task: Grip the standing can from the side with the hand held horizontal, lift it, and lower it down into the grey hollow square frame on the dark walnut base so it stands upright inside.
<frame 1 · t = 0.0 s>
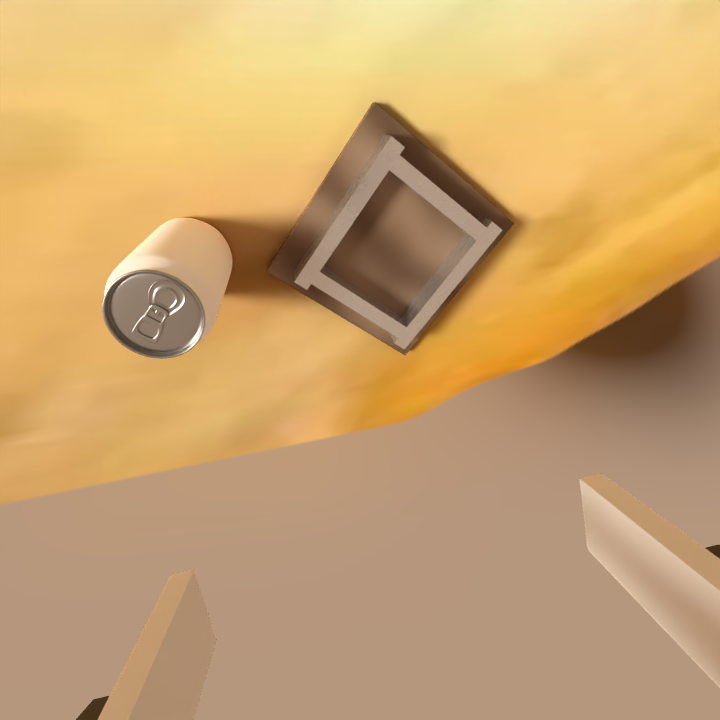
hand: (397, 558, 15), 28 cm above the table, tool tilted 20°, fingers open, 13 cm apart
collar base: (389, 244, 38), on the table
grey hollow square frame: (395, 251, 36), on the collar base, point 2 cm above the table
can: (192, 256, 36), on the table
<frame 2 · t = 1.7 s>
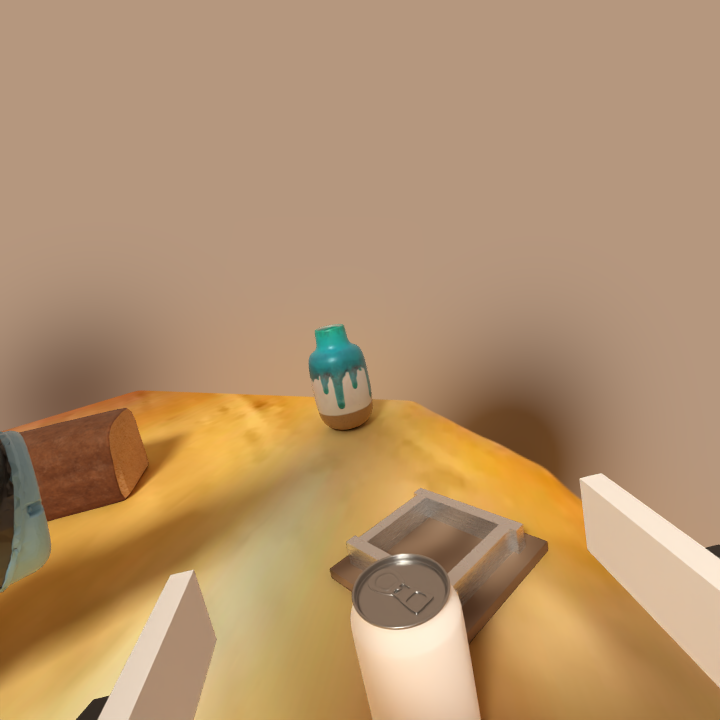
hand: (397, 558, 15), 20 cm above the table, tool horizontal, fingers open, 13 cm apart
collar base: (437, 564, 43), on the table
bread: (21, 514, 74), on the table
grey hollow square frame: (433, 544, 43), on the collar base, point 2 cm above the table
vase: (350, 426, 84), on the table
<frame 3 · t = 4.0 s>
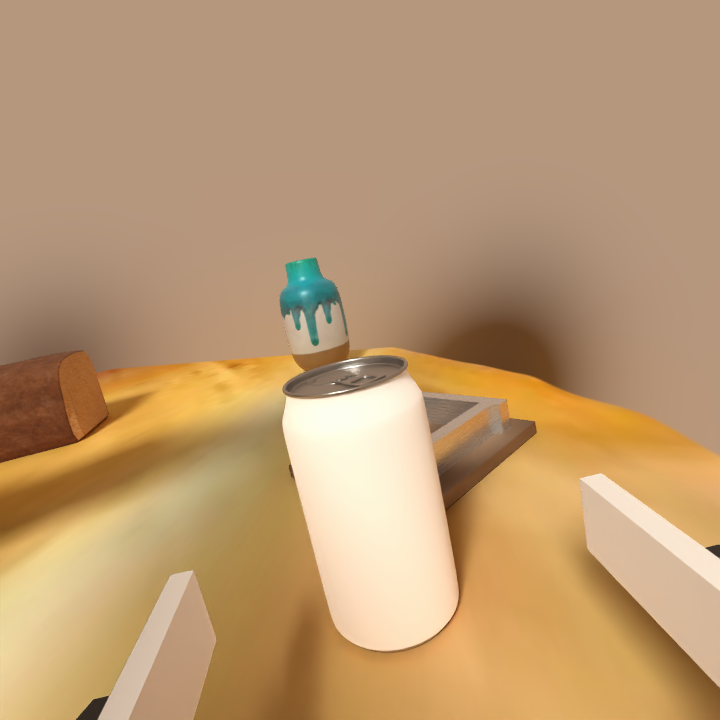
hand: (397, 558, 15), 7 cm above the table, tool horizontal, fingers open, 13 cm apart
collar base: (411, 454, 38), on the table
grey hollow square frame: (406, 430, 37), on the collar base, point 2 cm above the table
vase: (326, 370, 78), on the table
can: (396, 605, 22), on the table
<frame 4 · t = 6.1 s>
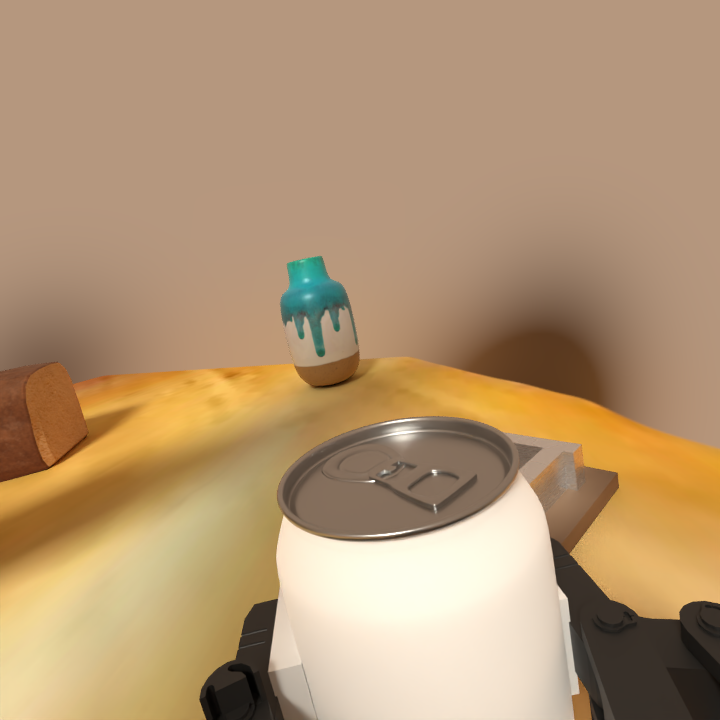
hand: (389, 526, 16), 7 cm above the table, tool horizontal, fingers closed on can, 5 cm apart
collar base: (450, 514, 29), on the table
grey hollow square frame: (444, 483, 28), on the collar base, point 2 cm above the table
vase: (332, 384, 69), on the table
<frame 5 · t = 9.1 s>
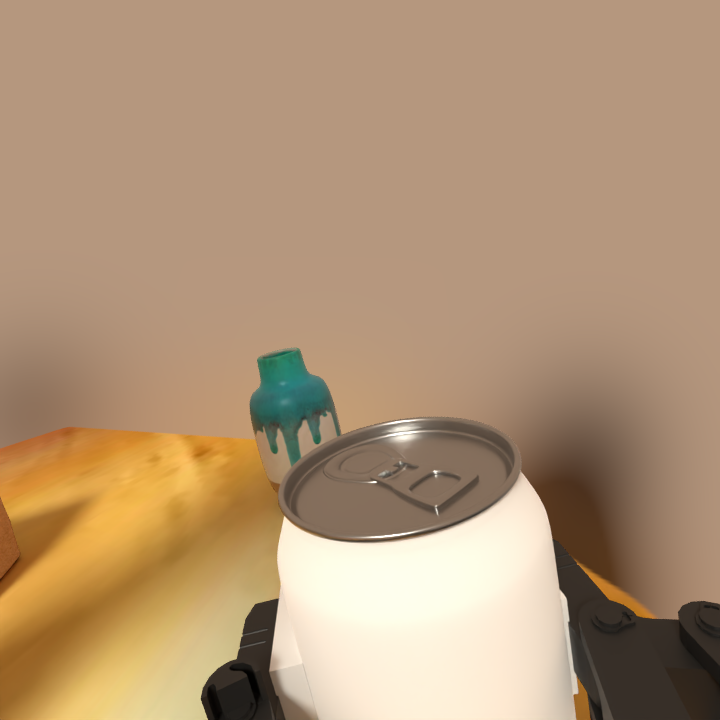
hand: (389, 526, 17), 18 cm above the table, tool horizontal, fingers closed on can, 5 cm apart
vase: (314, 494, 58), on the table
when the fingers open (9 cm above the table, at t = 11.7 s): can drops 1 cm, resting on collar base.
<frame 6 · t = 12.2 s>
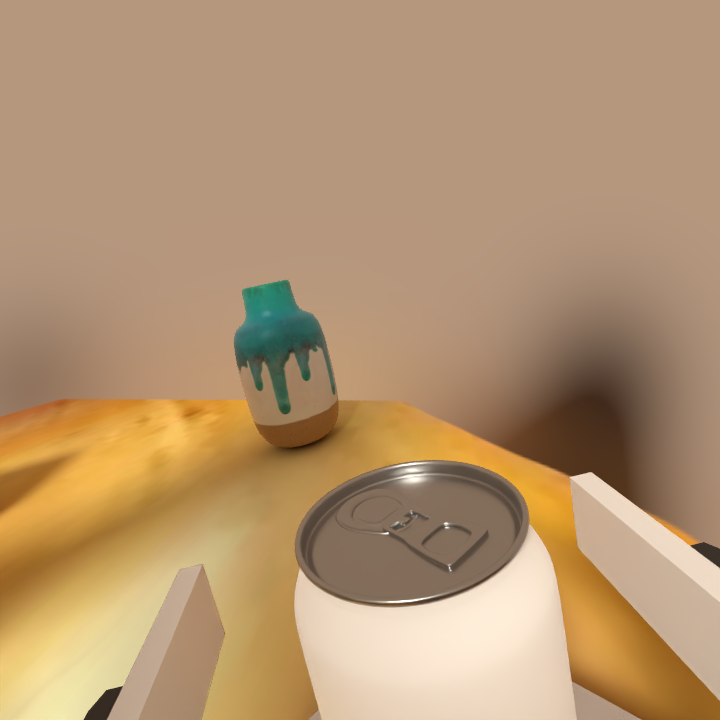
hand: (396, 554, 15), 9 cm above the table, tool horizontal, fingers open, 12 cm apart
vase: (304, 442, 54), on the table
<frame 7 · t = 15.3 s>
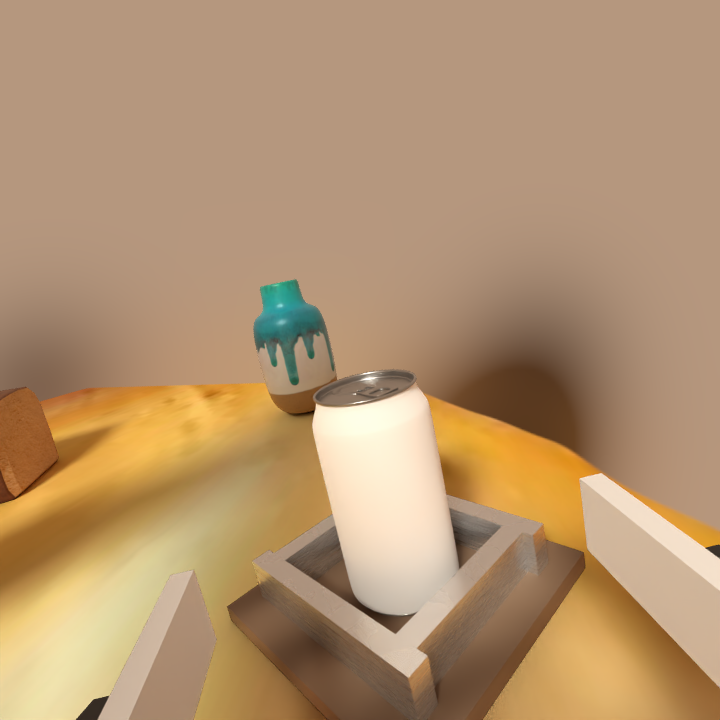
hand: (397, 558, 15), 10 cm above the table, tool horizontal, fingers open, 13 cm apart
collar base: (402, 594, 26), on the table
grey hollow square frame: (395, 562, 26), on the collar base, point 2 cm above the table
vase: (309, 410, 66), on the table
can: (406, 580, 26), point 1 cm above the table, touching collar base
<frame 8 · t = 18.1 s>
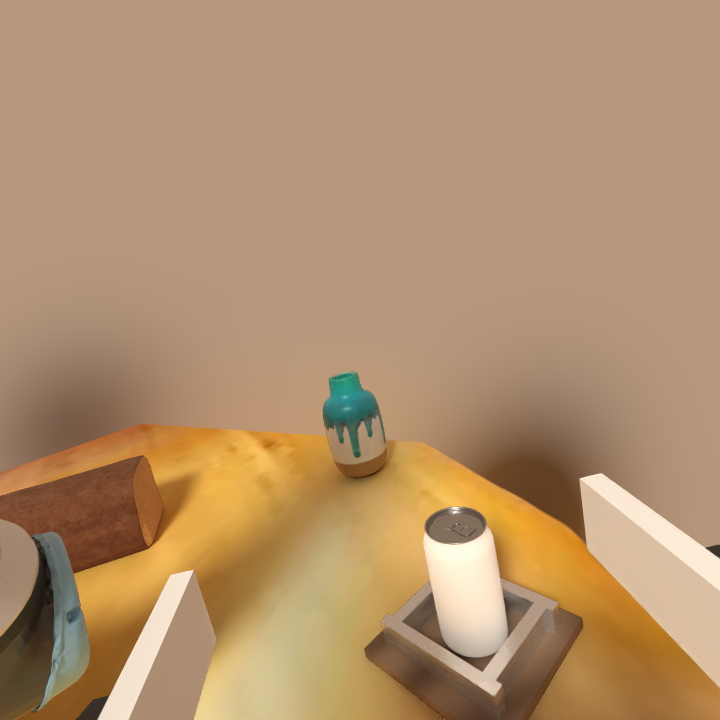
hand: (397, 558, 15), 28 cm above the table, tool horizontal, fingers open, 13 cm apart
collar base: (472, 642, 43), on the table
bread: (40, 567, 75), on the table
grey hollow square frame: (469, 623, 43), on the collar base, point 2 cm above the table
vase: (364, 472, 83), on the table
can: (474, 633, 43), point 1 cm above the table, touching collar base
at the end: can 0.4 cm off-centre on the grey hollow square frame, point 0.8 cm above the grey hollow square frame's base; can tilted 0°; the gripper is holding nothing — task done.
